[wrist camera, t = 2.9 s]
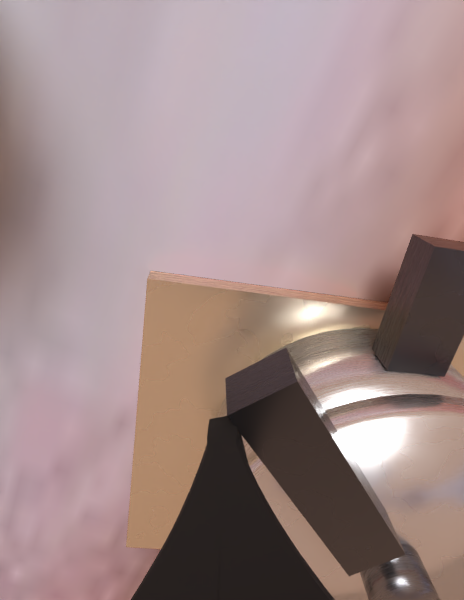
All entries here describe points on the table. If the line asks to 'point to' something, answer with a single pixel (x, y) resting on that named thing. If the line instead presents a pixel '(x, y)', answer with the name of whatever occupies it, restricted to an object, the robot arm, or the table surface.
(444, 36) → the table surface
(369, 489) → the cooker lid
